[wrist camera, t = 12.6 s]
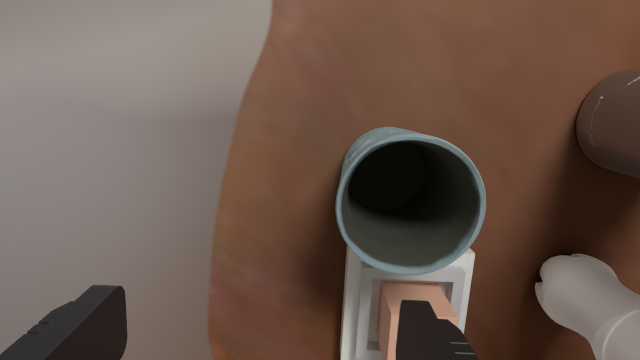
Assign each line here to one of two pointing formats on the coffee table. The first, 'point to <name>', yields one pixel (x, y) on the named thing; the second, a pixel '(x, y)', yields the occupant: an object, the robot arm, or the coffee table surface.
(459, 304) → the grey stand
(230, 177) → the coffee table surface
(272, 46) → the coffee table surface
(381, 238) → the teal cup
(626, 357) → the water bottle
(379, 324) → the terracotta block
